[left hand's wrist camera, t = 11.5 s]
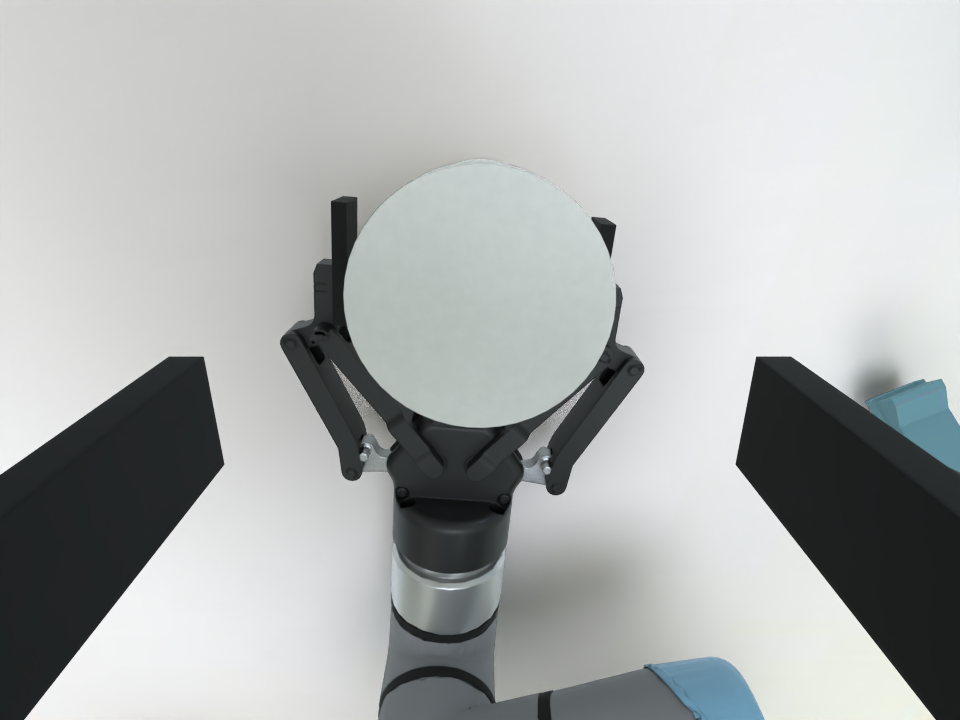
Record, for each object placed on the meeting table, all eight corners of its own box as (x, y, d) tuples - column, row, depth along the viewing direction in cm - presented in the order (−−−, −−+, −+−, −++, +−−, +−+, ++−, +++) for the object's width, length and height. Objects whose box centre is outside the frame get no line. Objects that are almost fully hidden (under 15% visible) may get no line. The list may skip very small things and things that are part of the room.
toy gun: (969, 651, 41) (1074, 712, 31) (830, 409, 45) (884, 397, 36) (1023, 634, 40) (1146, 690, 31) (876, 390, 45) (944, 373, 35)
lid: (644, 328, 23) (662, 348, 21) (444, 439, 25) (440, 469, 23) (524, 106, 20) (529, 101, 18) (306, 251, 22) (287, 264, 20)
